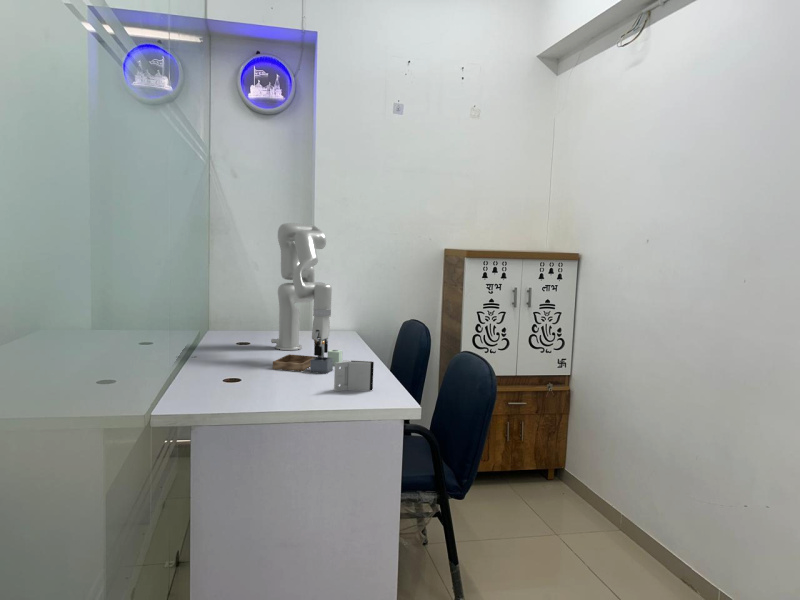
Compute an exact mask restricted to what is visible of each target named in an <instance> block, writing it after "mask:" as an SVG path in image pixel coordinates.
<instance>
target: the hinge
mask: <svg viewBox="0 0 800 600" xmlns="http://www.w3.org/2000/svg"><path fill="white" fill-rule="evenodd" d="M374 363H375V362H374V361H373V360H355V359H354V360H352V359H350V360H347V359H345V360H343V359H342V362H338V363H335V366H334V375H333V376H334V383H333V391H334V392H340V391H358V390H367V391H366V392H370V390H372V389H373V388H374V366H375V365H374ZM372 391H373V390H372Z"/></svg>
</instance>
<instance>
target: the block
mask: <svg viewBox="0 0 800 600" xmlns="http://www.w3.org/2000/svg"><path fill="white" fill-rule="evenodd" d="M333 368H334V366H333V358H328V356H327V357H326V356H324V357H318V356H315V358H313V359H311V364H310V368H309V370H310V371H309V372H310V373H314V372H318V373H317V374H326V373H327V374H329V373H330V372H332V371H333V370H334V369H333Z"/></svg>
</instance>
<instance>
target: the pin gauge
mask: <svg viewBox="0 0 800 600" xmlns="http://www.w3.org/2000/svg"><path fill="white" fill-rule="evenodd" d="M319 343H320V341H319ZM324 344H325V339H324V340H322V344H321V346H322V355H321V356H317V357H325V353H324Z"/></svg>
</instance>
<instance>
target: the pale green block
mask: <svg viewBox="0 0 800 600" xmlns="http://www.w3.org/2000/svg"><path fill="white" fill-rule="evenodd" d="M343 353H344V352H343V349H328V352H327V357H328V358H333V367H335V363H338V362H342V361H343Z"/></svg>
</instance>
